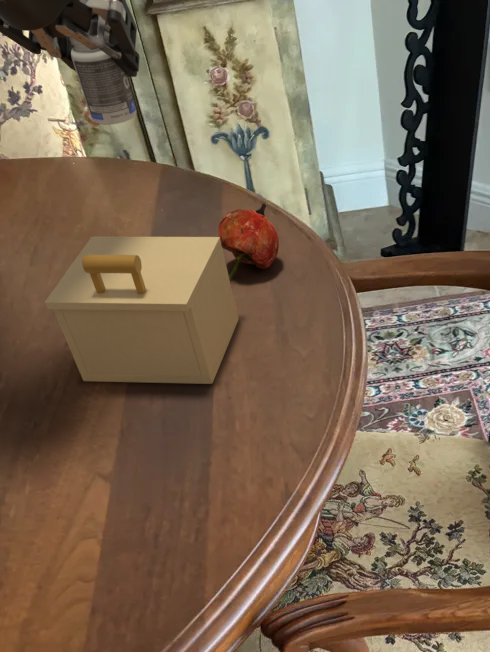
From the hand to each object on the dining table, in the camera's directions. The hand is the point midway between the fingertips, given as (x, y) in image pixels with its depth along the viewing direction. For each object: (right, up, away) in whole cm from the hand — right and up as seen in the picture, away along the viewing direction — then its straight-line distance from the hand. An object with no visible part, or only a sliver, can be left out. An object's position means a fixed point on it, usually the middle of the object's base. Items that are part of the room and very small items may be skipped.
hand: (109, 66), depth 80 cm
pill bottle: (0, -4, +2) cm, 5 cm away
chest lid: (+4, -22, -2) cm, 22 cm away
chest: (+4, -28, +5) cm, 28 cm away
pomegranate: (+12, -15, +16) cm, 25 cm away
